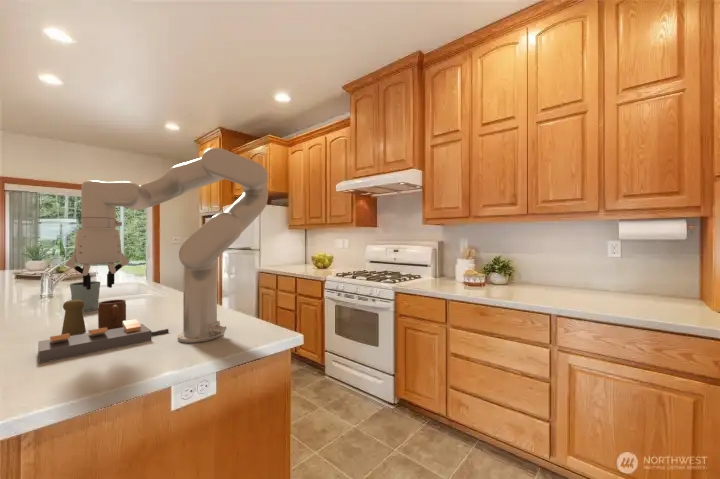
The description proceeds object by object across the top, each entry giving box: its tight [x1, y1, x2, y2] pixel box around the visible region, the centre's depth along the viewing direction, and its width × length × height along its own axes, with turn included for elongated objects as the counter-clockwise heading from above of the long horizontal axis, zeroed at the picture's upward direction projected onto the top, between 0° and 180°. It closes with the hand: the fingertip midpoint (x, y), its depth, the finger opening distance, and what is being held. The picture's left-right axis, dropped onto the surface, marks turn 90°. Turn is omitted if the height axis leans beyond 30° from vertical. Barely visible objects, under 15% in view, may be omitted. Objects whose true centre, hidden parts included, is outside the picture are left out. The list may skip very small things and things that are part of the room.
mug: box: [97, 299, 127, 330], centre depth 107 cm, size 12×8×9 cm, turn 46°
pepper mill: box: [60, 299, 87, 336], centre depth 103 cm, size 6×6×11 cm
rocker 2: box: [122, 318, 141, 333], centre depth 96 cm, size 4×6×2 cm, turn 47°
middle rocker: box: [87, 327, 108, 336], centre depth 90 cm, size 4×6×2 cm, turn 47°
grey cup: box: [69, 280, 101, 313], centre depth 136 cm, size 10×10×12 cm
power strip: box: [37, 323, 169, 364], centre depth 92 cm, size 30×11×3 cm, turn 137°
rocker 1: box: [49, 334, 70, 343], centre depth 84 cm, size 4×6×2 cm, turn 47°
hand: (99, 287), depth 89 cm, fingers open, 4 cm apart
